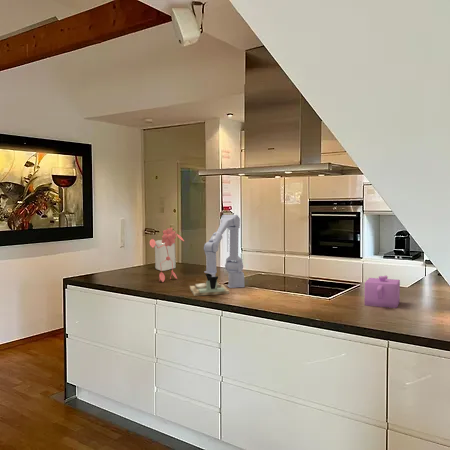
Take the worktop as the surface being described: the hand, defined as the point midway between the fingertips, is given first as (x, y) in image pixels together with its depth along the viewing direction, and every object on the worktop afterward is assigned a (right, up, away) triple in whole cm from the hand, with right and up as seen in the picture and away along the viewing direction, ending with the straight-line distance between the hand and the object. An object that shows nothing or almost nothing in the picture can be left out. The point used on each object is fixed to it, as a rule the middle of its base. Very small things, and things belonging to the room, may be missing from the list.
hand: (211, 287), depth 264 cm
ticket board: (-2, -4, +10) cm, 11 cm away
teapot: (+87, -5, -26) cm, 91 cm away
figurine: (-27, -2, +41) cm, 49 cm away
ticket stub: (0, -2, +1) cm, 3 cm away
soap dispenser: (-39, +2, +89) cm, 97 cm away
